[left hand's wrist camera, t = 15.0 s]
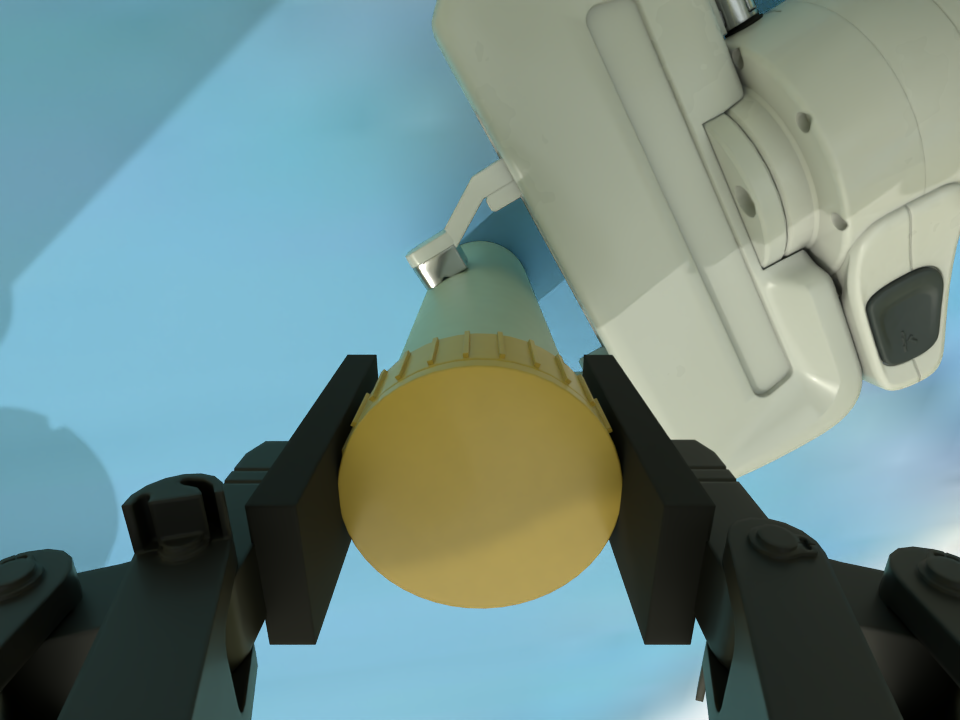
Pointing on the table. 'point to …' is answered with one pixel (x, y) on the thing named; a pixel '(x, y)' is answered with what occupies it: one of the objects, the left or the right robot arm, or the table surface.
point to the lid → (480, 473)
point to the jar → (482, 301)
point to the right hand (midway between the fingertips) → (461, 340)
